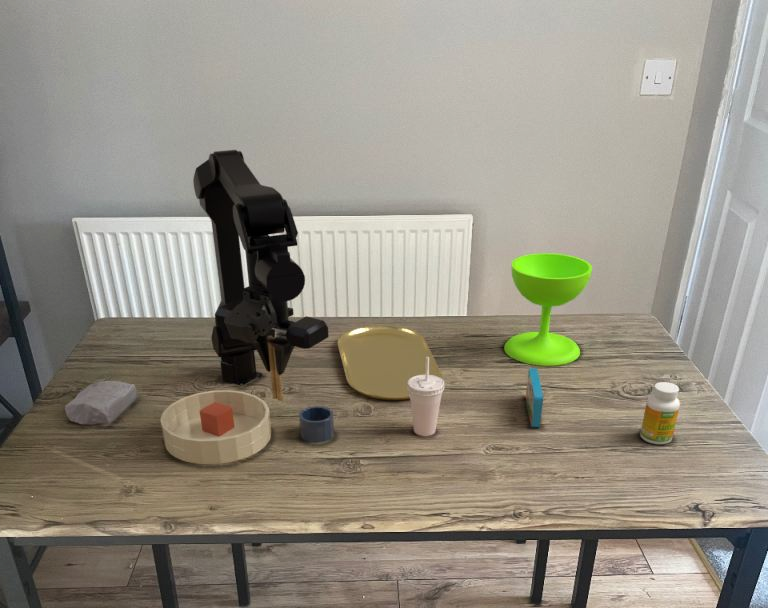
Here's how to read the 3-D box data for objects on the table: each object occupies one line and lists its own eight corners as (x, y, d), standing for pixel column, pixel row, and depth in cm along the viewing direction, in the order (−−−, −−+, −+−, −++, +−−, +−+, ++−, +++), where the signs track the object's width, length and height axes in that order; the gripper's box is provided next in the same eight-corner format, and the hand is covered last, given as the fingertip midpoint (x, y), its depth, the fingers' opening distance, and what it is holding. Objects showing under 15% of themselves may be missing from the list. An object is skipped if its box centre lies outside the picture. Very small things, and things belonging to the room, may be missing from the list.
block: (217, 421, 144) (215, 401, 142) (234, 427, 142) (232, 407, 140) (202, 430, 141) (199, 410, 139) (219, 436, 139) (216, 416, 137)
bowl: (215, 405, 150) (212, 381, 147) (292, 431, 142) (290, 406, 139) (143, 447, 138) (137, 422, 135) (222, 478, 130) (218, 451, 127)
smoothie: (446, 426, 143) (450, 353, 135) (437, 443, 138) (439, 369, 130) (412, 421, 145) (413, 348, 137) (401, 437, 140) (402, 363, 132)
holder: (313, 425, 144) (312, 403, 141) (340, 434, 141) (340, 411, 139) (293, 439, 140) (292, 416, 137) (321, 448, 137) (319, 425, 135)
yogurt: (525, 397, 152) (528, 367, 149) (533, 397, 152) (537, 367, 149) (531, 428, 143) (534, 397, 139) (539, 428, 143) (543, 397, 139)
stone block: (66, 431, 146) (113, 426, 143) (55, 407, 144) (103, 402, 141) (98, 403, 156) (143, 398, 153) (89, 380, 153) (134, 375, 150)
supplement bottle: (655, 448, 137) (666, 397, 131) (633, 434, 141) (643, 384, 135) (678, 440, 139) (690, 389, 133) (656, 427, 143) (667, 377, 137)
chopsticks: (274, 395, 136) (268, 334, 129) (284, 399, 135) (279, 337, 128) (270, 398, 135) (265, 336, 129) (281, 401, 134) (275, 339, 128)
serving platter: (416, 329, 180) (416, 322, 179) (450, 400, 152) (450, 392, 151) (333, 334, 178) (333, 327, 177) (352, 407, 149) (352, 400, 148)
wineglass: (500, 334, 177) (507, 252, 167) (573, 335, 177) (585, 253, 166) (507, 365, 164) (515, 278, 154) (586, 366, 164) (599, 279, 153)
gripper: (185, 283, 122) (199, 377, 131) (282, 307, 113) (290, 406, 122) (233, 263, 129) (243, 353, 138) (328, 284, 121) (332, 378, 130)
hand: (275, 372), depth 132 cm, fingers closed on chopsticks
